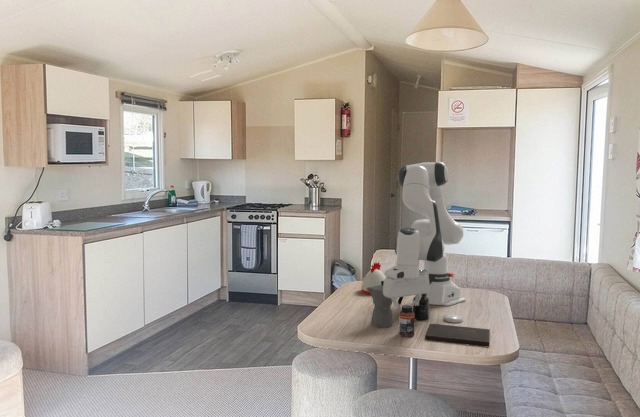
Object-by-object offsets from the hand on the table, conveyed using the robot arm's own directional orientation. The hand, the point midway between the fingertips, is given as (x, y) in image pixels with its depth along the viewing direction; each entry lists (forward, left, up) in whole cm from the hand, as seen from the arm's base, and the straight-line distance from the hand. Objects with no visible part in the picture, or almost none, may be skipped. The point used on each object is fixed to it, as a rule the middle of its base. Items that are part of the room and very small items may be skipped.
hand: (406, 307), depth 205 cm
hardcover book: (-17, +11, -12) cm, 23 cm away
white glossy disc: (-30, -6, -11) cm, 33 cm away
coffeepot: (-1, -15, -11) cm, 19 cm away
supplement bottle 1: (0, 0, -11) cm, 11 cm away
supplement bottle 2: (-19, -14, -11) cm, 26 cm away
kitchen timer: (-30, -62, -11) cm, 70 cm away
